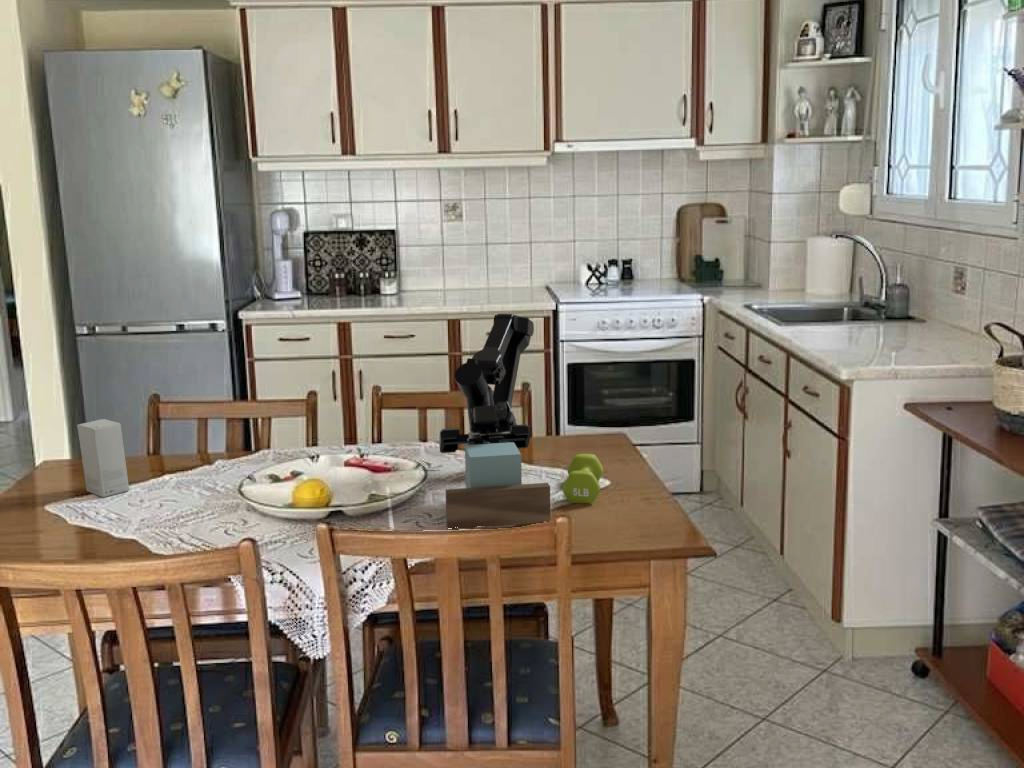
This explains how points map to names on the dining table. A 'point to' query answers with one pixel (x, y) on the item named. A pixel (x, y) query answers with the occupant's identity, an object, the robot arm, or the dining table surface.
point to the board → (498, 505)
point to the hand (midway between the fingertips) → (489, 474)
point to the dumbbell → (583, 479)
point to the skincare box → (103, 457)
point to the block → (492, 465)
